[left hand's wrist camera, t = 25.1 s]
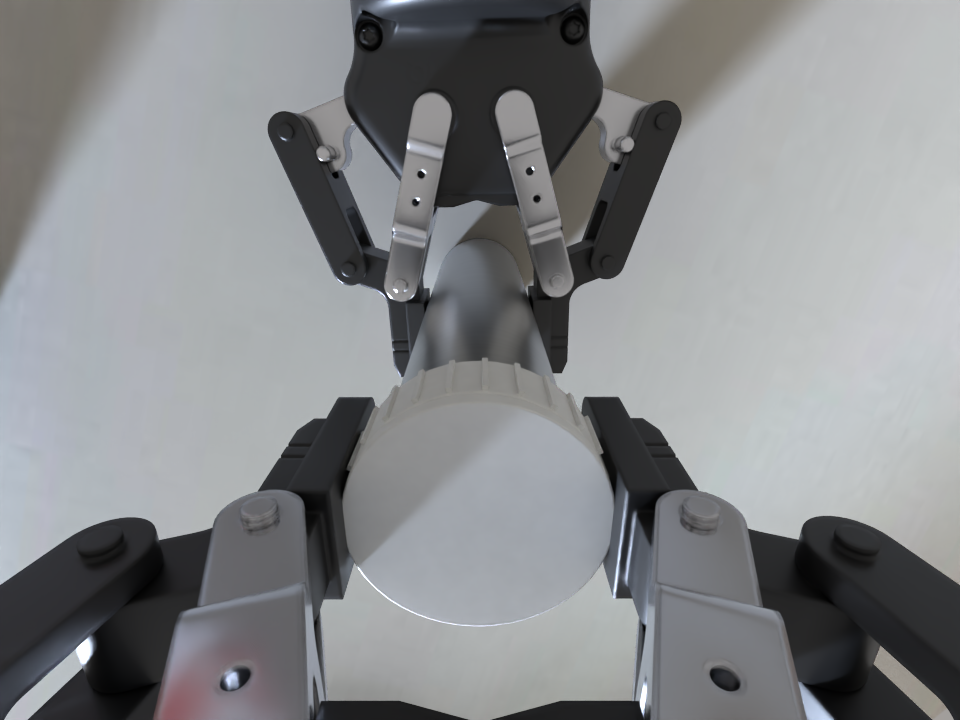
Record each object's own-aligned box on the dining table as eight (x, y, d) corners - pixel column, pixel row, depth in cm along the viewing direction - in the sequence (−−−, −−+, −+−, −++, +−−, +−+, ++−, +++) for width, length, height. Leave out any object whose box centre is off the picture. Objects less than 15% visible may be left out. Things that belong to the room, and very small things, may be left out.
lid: (529, 309, 9) (539, 343, 8) (637, 504, 11) (665, 567, 9) (309, 427, 10) (277, 480, 9) (438, 592, 12) (432, 663, 10)
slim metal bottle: (425, 295, 27) (335, 534, 10) (462, 223, 25) (428, 362, 9) (495, 331, 27) (519, 609, 11) (534, 262, 26) (630, 460, 9)
